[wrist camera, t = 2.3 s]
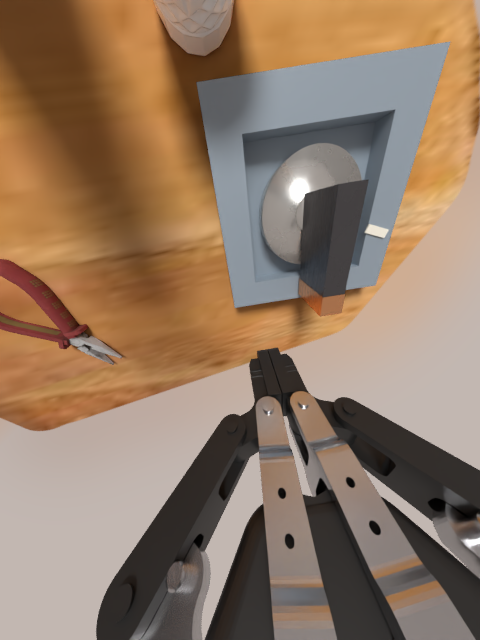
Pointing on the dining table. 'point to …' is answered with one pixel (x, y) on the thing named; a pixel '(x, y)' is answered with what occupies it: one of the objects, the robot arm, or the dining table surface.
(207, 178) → the dining table surface
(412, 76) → the housing
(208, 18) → the white cup
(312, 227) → the dial
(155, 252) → the dining table surface
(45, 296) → the pliers
